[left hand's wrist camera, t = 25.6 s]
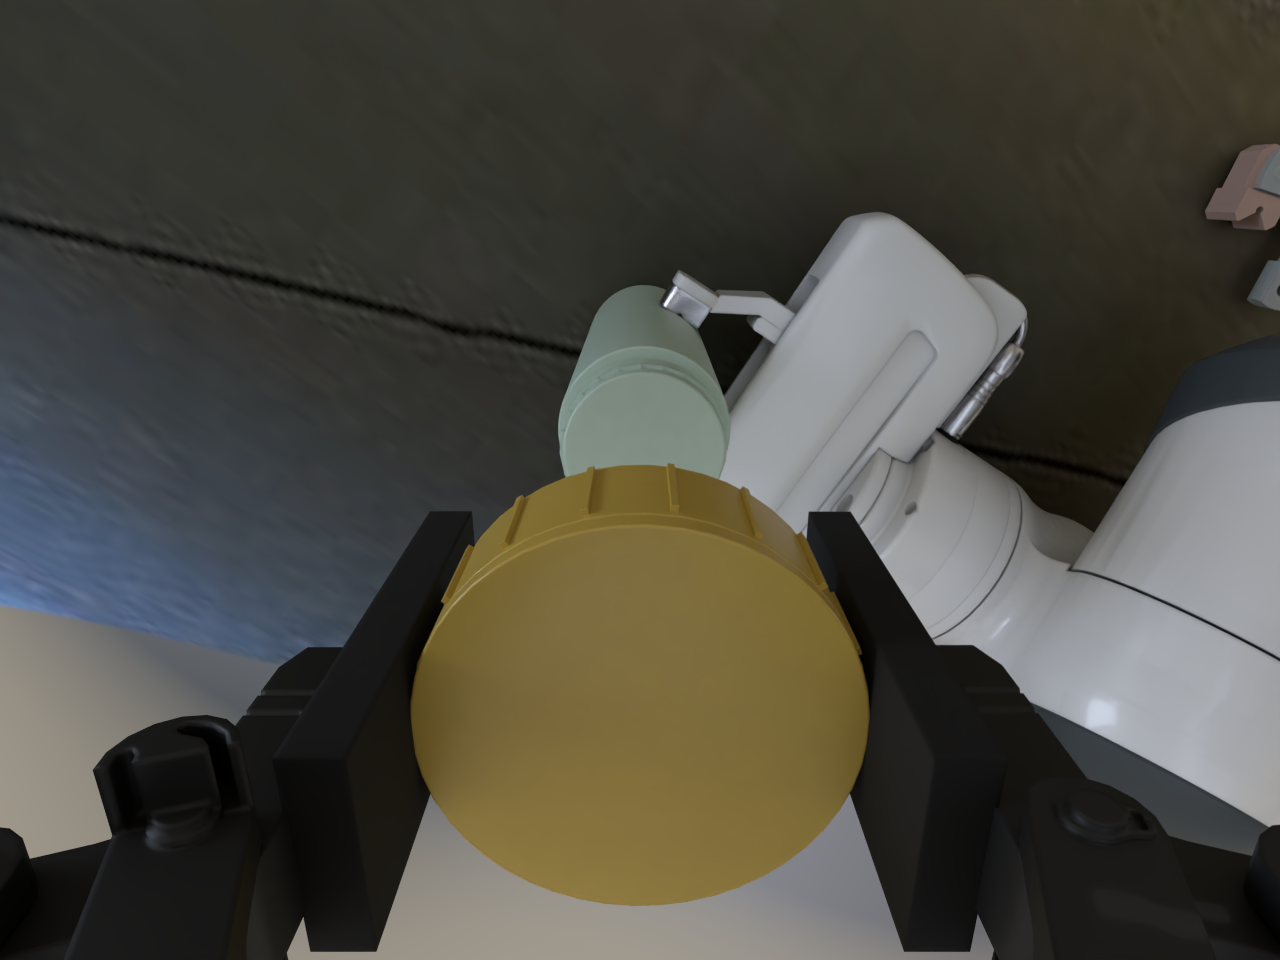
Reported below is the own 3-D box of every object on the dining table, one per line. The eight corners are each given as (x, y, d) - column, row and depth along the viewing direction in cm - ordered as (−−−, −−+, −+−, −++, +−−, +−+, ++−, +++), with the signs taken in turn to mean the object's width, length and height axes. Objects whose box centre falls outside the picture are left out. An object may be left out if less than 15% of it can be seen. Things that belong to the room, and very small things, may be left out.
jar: (580, 295, 38) (532, 377, 21) (688, 275, 37) (724, 344, 21) (601, 400, 40) (572, 550, 23) (704, 382, 39) (749, 522, 23)
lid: (387, 508, 12) (332, 577, 10) (804, 417, 11) (840, 468, 9) (505, 827, 14) (482, 940, 12) (861, 762, 13) (901, 868, 11)
